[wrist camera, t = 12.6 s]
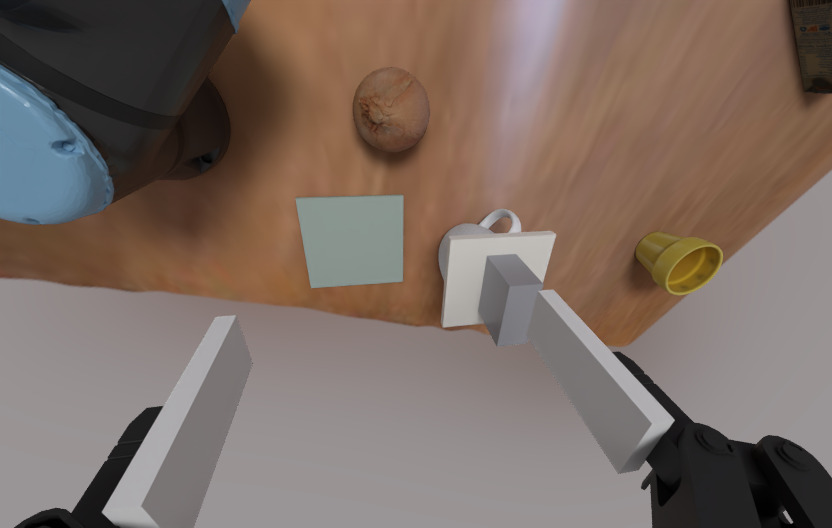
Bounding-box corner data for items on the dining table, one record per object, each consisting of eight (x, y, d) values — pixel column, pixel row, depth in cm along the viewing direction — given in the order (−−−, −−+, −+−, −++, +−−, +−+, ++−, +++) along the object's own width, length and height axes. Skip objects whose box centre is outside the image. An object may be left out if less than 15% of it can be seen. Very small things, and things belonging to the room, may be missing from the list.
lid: (440, 321, 46) (456, 364, 39) (448, 235, 39) (468, 269, 32) (529, 313, 48) (558, 353, 42) (551, 230, 41) (590, 261, 34)
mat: (311, 286, 55) (311, 288, 54) (296, 197, 47) (295, 198, 46) (402, 280, 57) (402, 281, 57) (402, 194, 49) (403, 195, 49)
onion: (361, 115, 45) (324, 126, 37) (393, 50, 40) (358, 45, 32) (413, 157, 46) (388, 176, 38) (452, 98, 41) (432, 106, 33)
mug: (473, 180, 50) (507, 210, 39) (518, 216, 54) (560, 251, 43) (417, 251, 55) (433, 295, 44) (463, 278, 59) (488, 324, 48)
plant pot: (626, 233, 60) (669, 258, 52) (678, 214, 60) (730, 236, 52) (624, 275, 66) (663, 303, 57) (671, 257, 65) (717, 283, 57)
